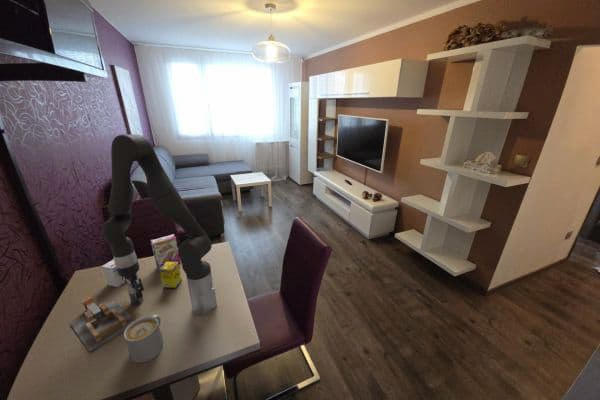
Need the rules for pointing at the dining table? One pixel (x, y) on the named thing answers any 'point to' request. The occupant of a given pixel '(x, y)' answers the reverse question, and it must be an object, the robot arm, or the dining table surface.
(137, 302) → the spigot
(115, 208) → the robot arm
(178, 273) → the supplement box
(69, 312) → the dining table surface
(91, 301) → the pin
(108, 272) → the light bulb box
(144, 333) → the coffee mug
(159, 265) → the candy bar box
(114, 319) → the dock
